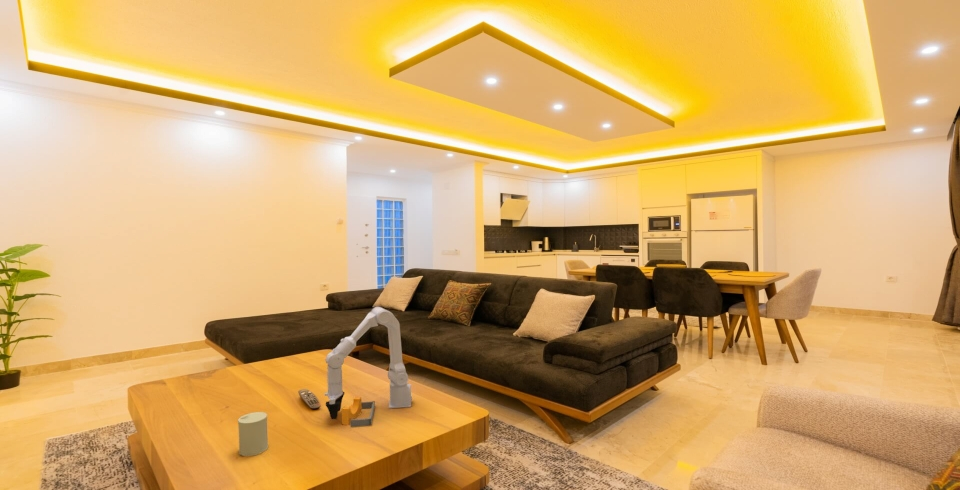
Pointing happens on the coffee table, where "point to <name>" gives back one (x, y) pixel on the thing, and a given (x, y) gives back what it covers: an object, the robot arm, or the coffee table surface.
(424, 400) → the coffee table surface
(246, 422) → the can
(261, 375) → the coffee table surface
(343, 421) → the pipe clamp
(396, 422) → the coffee table surface
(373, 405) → the u-shaped bracket
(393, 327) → the robot arm
